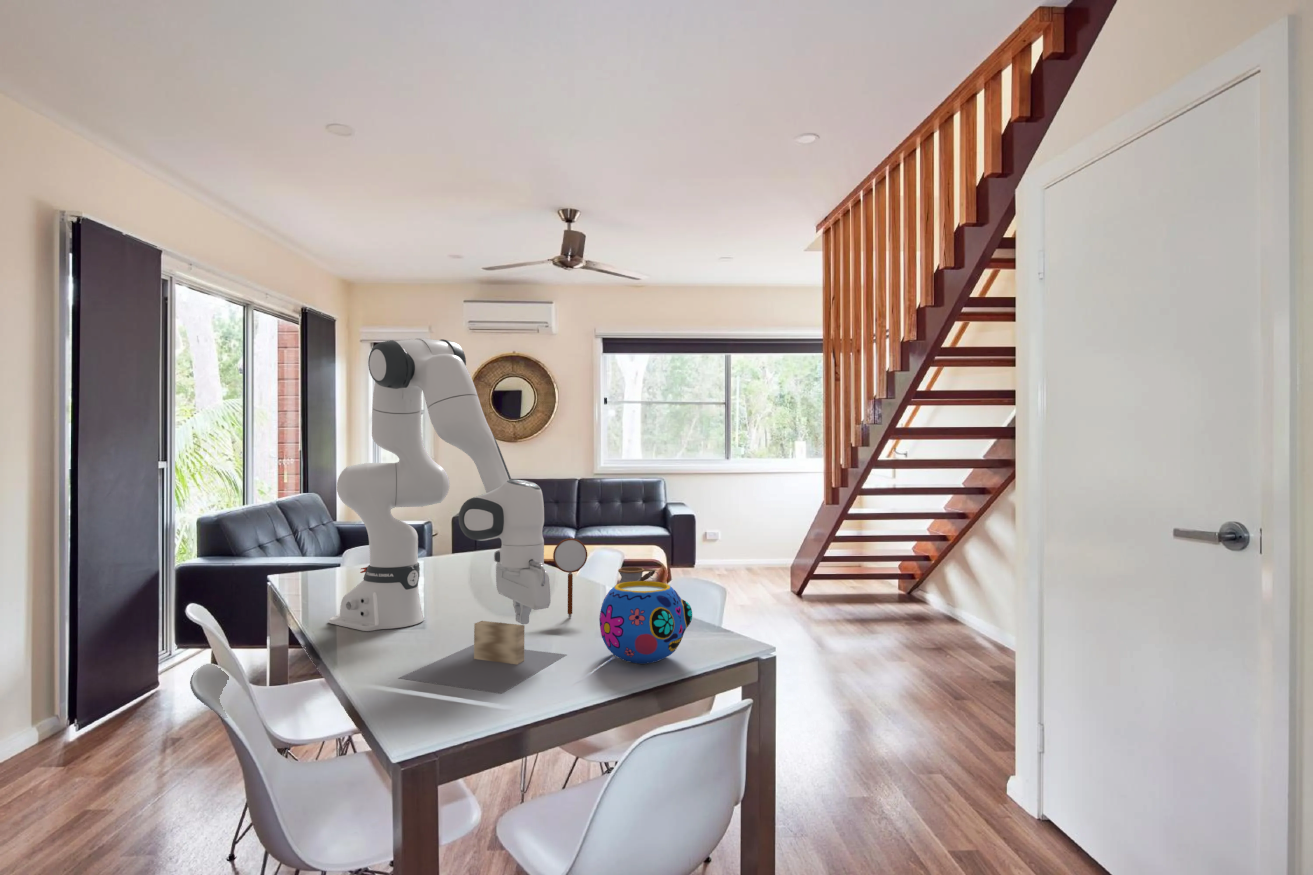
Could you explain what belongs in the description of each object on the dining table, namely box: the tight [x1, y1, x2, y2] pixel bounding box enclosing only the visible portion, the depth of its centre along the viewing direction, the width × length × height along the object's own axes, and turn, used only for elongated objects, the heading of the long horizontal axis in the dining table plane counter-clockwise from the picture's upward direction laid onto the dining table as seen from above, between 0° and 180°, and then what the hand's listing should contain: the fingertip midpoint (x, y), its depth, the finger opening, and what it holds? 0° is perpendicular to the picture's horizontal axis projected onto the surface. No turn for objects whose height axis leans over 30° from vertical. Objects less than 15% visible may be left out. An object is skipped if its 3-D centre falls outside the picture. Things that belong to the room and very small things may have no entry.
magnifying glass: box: [552, 537, 588, 618], centre depth 174 cm, size 9×2×20 cm, turn 102°
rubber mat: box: [398, 644, 567, 694], centre depth 133 cm, size 22×24×1 cm
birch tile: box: [473, 620, 526, 664], centre depth 137 cm, size 10×3×7 cm, turn 70°
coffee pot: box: [617, 566, 660, 584], centre depth 166 cm, size 21×12×15 cm, turn 22°
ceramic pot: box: [598, 580, 693, 665], centre depth 139 cm, size 18×18×15 cm
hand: (522, 622), depth 145 cm, fingers closed
